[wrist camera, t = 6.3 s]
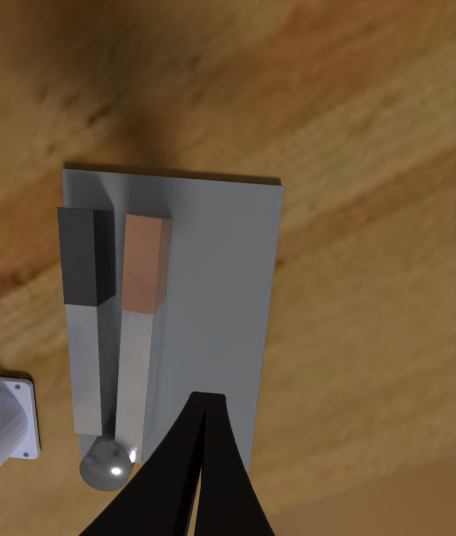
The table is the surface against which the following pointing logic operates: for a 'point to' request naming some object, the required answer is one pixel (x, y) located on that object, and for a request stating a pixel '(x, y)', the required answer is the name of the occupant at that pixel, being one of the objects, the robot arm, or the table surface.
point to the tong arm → (134, 354)
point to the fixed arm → (90, 314)
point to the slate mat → (198, 286)
